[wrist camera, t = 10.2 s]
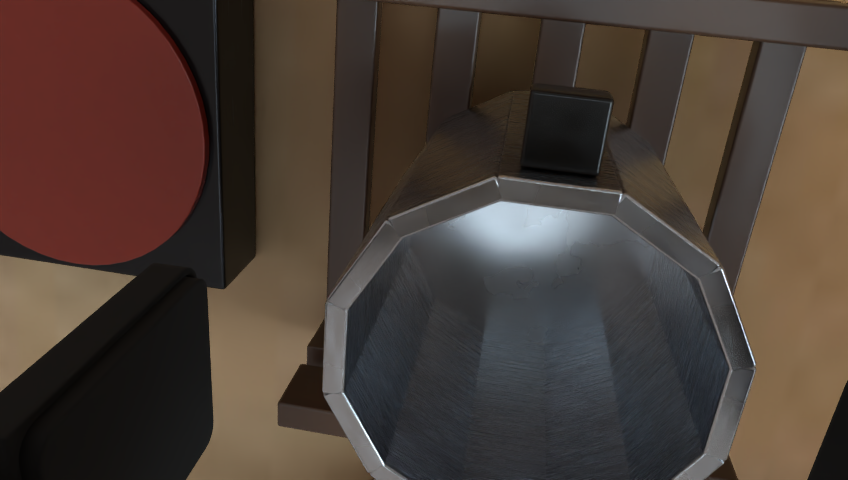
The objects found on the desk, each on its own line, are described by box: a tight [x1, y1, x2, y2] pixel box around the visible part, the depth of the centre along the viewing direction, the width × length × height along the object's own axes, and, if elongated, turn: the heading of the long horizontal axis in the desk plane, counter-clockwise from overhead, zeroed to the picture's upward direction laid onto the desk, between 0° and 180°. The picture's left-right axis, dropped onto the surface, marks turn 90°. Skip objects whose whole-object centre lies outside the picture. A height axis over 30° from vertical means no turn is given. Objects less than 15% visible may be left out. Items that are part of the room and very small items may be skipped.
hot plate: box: [0, 0, 209, 265], centre depth 19 cm, size 8×8×1 cm
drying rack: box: [278, 0, 848, 480], centre depth 18 cm, size 12×12×5 cm
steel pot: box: [322, 83, 756, 480], centre depth 14 cm, size 7×9×7 cm
